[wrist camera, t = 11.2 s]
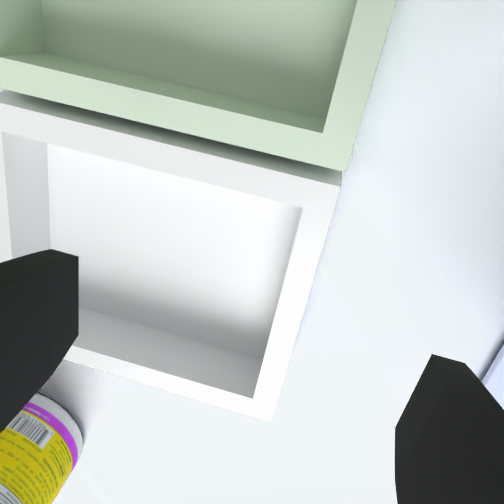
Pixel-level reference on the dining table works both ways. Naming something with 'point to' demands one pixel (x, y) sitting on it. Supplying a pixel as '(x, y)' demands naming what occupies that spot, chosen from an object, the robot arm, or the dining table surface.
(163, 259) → the white tray
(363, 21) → the sage tray
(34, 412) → the supplement bottle
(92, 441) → the dining table surface
